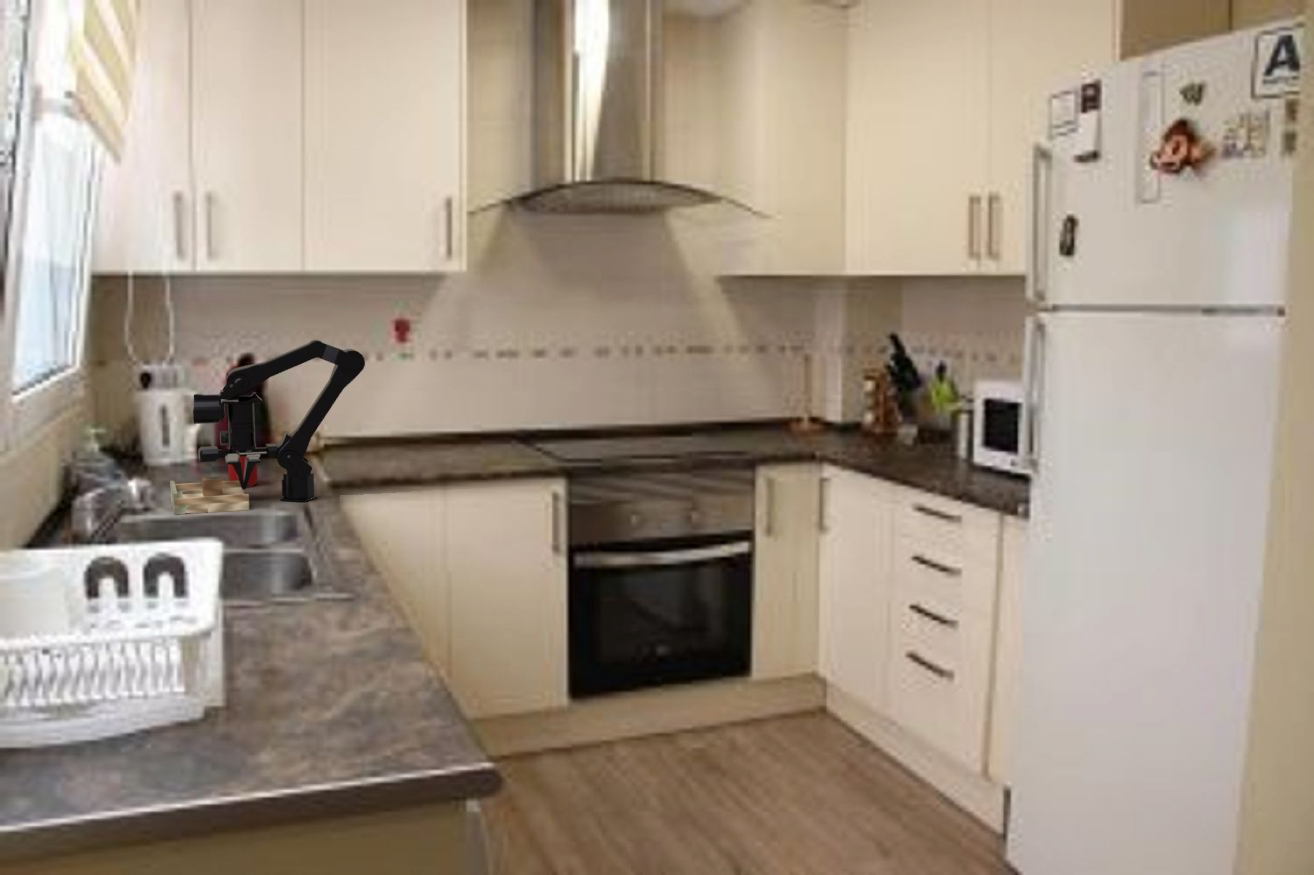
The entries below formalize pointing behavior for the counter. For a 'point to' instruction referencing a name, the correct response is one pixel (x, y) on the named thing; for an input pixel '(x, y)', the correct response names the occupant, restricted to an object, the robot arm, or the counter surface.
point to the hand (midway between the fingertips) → (243, 489)
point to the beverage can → (234, 476)
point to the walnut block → (212, 486)
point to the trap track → (207, 498)
